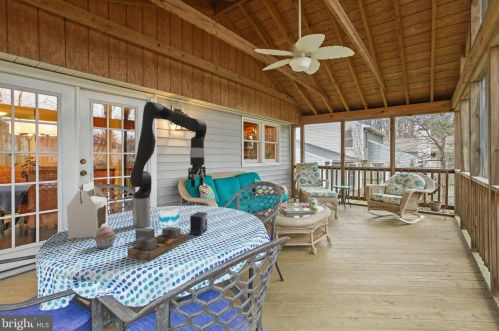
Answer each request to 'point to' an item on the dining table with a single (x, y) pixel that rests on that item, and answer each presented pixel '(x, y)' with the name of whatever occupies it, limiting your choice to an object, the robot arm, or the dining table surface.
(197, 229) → the small box
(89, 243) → the dining table surface
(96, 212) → the gable box
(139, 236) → the block
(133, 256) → the rack
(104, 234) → the cupcake
